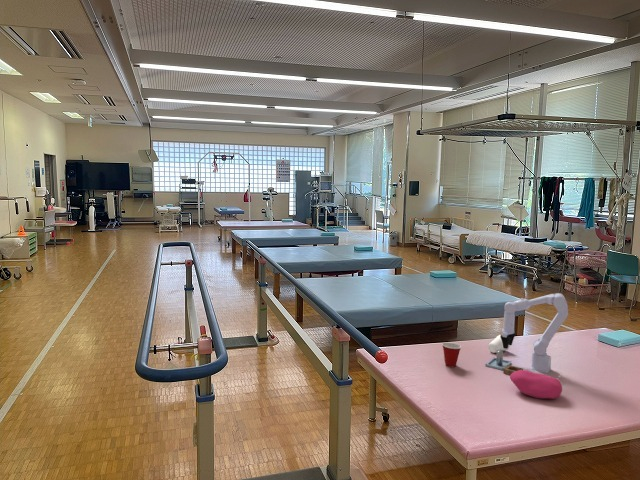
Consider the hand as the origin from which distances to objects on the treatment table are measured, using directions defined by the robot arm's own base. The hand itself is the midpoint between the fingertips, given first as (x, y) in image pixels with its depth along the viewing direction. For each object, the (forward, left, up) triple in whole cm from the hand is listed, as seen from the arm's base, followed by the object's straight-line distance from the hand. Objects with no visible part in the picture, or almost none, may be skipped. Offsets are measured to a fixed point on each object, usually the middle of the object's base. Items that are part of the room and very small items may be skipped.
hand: (507, 346), depth 264 cm
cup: (+13, -13, -7) cm, 19 cm away
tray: (+3, +5, -10) cm, 12 cm away
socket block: (-7, +12, -10) cm, 17 cm away
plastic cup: (+24, +22, -11) cm, 34 cm away
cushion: (-23, +30, -11) cm, 39 cm away
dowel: (+2, +5, -10) cm, 11 cm away
